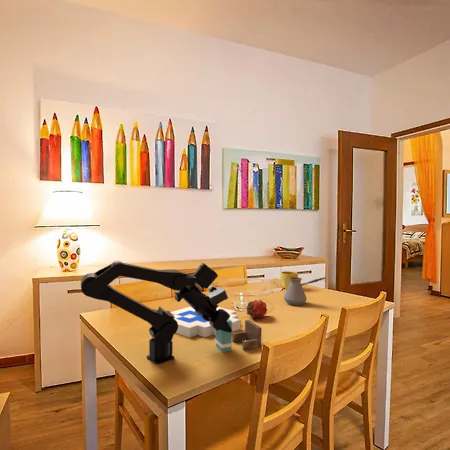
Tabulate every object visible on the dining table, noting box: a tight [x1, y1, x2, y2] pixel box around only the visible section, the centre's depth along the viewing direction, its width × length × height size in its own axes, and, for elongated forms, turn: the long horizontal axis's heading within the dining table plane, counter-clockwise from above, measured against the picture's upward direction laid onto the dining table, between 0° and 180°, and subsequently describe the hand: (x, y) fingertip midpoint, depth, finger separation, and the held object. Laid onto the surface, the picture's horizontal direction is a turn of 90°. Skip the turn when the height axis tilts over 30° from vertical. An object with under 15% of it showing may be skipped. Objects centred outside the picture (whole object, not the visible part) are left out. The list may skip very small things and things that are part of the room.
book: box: [214, 319, 233, 353], centre depth 119 cm, size 4×6×10 cm, turn 23°
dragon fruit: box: [246, 299, 269, 320], centre depth 154 cm, size 8×8×12 cm
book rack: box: [232, 319, 262, 352], centre depth 122 cm, size 6×9×7 cm
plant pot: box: [280, 270, 299, 291], centre depth 211 cm, size 10×10×10 cm
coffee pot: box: [283, 276, 327, 306], centre depth 175 cm, size 21×12×15 cm, turn 57°
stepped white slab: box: [170, 306, 241, 338], centre depth 143 cm, size 28×4×28 cm
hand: (227, 328), depth 119 cm, fingers open, 6 cm apart
